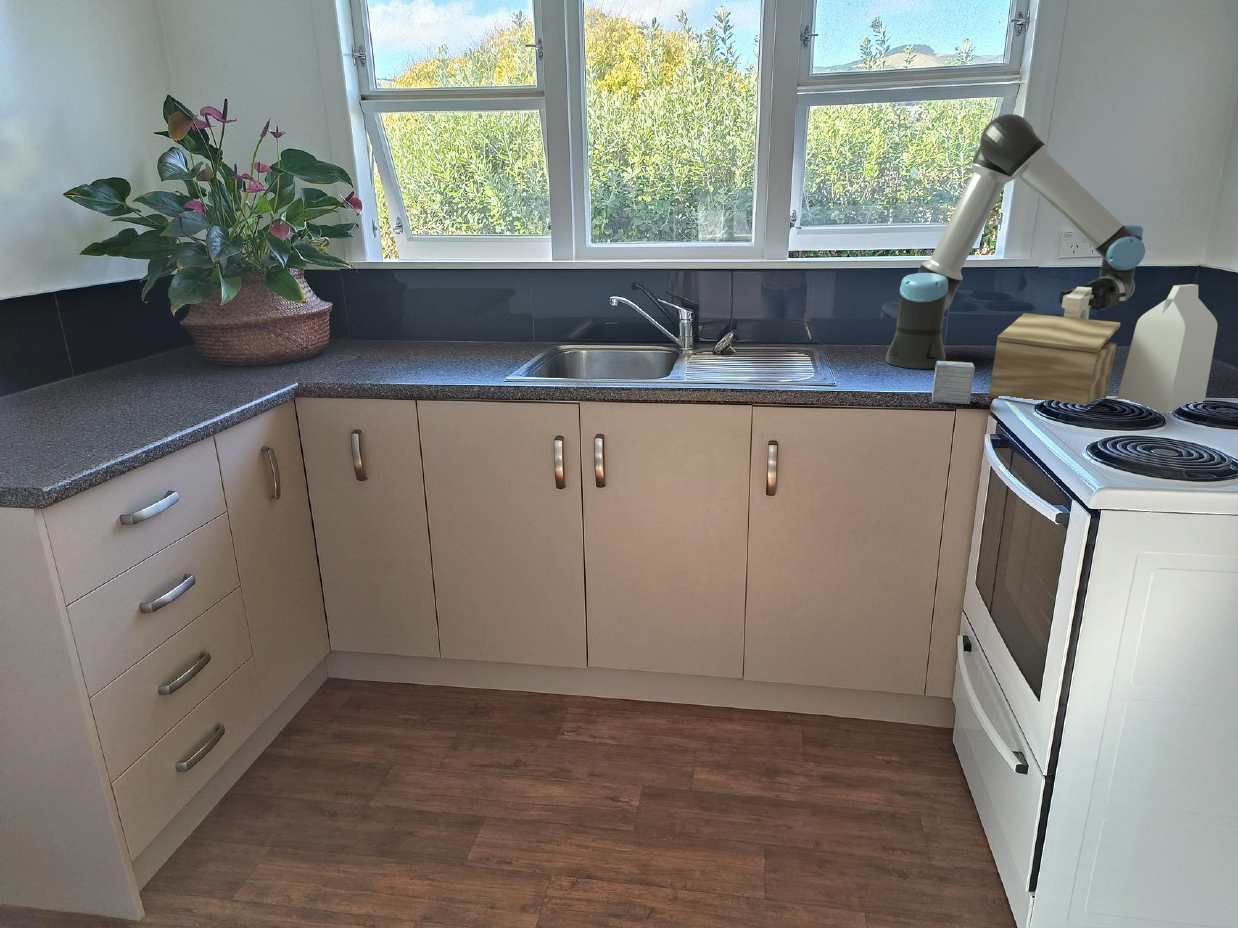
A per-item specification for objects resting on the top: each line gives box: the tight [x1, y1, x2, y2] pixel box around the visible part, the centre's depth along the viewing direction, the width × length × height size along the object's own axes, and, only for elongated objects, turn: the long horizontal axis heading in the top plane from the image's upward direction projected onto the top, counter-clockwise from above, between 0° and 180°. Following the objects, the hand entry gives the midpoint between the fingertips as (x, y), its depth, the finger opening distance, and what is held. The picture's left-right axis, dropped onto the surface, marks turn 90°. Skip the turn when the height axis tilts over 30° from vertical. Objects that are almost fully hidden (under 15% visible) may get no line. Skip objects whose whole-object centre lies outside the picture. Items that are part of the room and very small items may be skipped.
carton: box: [988, 340, 1118, 406], centre depth 181 cm, size 16×20×13 cm
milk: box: [1116, 283, 1218, 415], centre depth 173 cm, size 12×12×26 cm
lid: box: [996, 286, 1121, 353], centre depth 180 cm, size 24×20×8 cm
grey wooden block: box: [931, 360, 975, 405], centre depth 180 cm, size 8×4×9 cm, turn 71°
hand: (1073, 302), depth 182 cm, fingers closed on lid, 3 cm apart
